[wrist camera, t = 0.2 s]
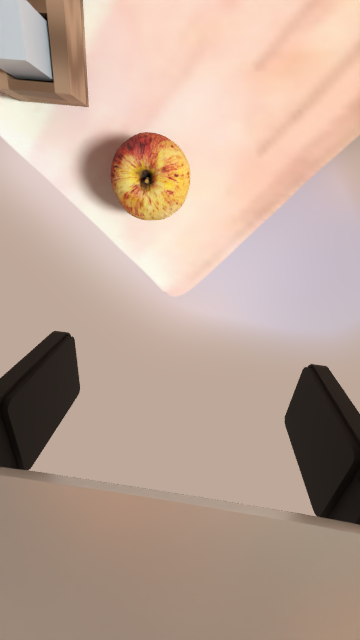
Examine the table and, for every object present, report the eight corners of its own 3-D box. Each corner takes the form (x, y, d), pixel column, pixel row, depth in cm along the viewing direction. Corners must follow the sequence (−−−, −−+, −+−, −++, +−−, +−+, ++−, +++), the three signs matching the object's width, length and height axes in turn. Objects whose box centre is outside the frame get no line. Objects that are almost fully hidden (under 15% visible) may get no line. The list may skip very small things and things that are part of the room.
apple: (165, 124, 32) (148, 98, 23) (206, 188, 35) (205, 187, 26) (114, 175, 35) (82, 169, 26) (155, 230, 38) (139, 242, 29)
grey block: (7, 21, 27) (-33, -14, 22) (49, 24, 26) (16, -10, 22) (16, 78, 29) (-20, 56, 24) (54, 81, 28) (26, 60, 24)
